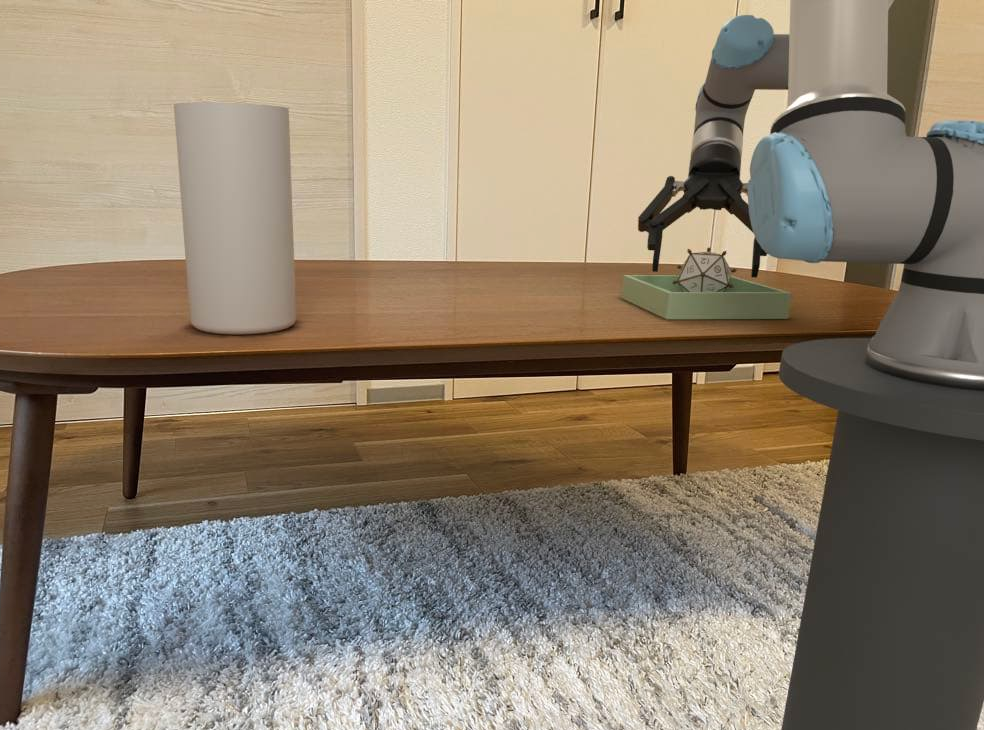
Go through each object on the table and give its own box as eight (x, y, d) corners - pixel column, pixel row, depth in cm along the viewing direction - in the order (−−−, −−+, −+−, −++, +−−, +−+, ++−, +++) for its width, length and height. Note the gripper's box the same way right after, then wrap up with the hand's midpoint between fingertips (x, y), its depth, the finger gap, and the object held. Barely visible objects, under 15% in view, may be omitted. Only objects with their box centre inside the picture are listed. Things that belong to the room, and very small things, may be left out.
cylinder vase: (187, 337, 88) (168, 100, 80) (194, 317, 99) (178, 108, 92) (299, 334, 90) (291, 105, 83) (293, 315, 102) (286, 112, 95)
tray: (788, 319, 107) (792, 292, 106) (666, 319, 104) (669, 292, 103) (727, 298, 123) (730, 275, 122) (621, 298, 121) (623, 275, 120)
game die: (693, 326, 117) (703, 268, 120) (744, 314, 110) (752, 253, 113) (655, 299, 112) (666, 240, 115) (705, 285, 105) (715, 223, 108)
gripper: (798, 179, 119) (794, 290, 110) (632, 175, 126) (615, 279, 117) (808, 141, 113) (804, 256, 104) (633, 140, 120) (615, 246, 111)
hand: (704, 268), depth 110 cm, fingers open, 13 cm apart
